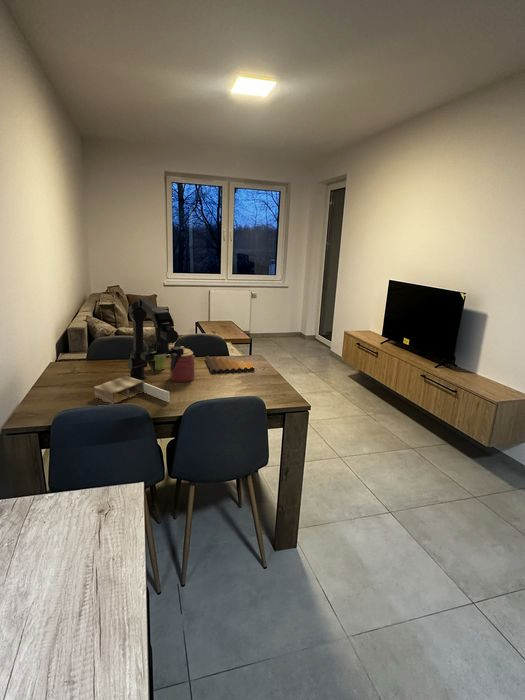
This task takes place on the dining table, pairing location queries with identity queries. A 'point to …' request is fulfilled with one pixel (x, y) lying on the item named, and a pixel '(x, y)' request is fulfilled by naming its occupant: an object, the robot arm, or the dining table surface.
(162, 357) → the plant pot
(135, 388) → the cabinet
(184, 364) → the canister
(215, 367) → the scalloped wooden trivet
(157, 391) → the white flat slab piece
